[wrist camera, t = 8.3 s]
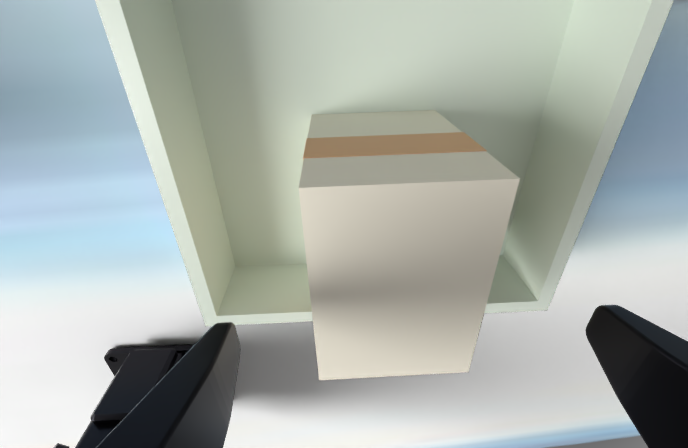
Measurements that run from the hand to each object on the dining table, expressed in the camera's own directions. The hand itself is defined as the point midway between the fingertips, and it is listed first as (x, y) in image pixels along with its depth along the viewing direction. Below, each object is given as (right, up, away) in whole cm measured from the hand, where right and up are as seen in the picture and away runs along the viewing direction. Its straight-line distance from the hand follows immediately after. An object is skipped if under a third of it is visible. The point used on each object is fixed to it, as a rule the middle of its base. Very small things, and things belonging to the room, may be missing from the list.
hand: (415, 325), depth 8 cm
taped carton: (-1, +4, +7) cm, 8 cm away
